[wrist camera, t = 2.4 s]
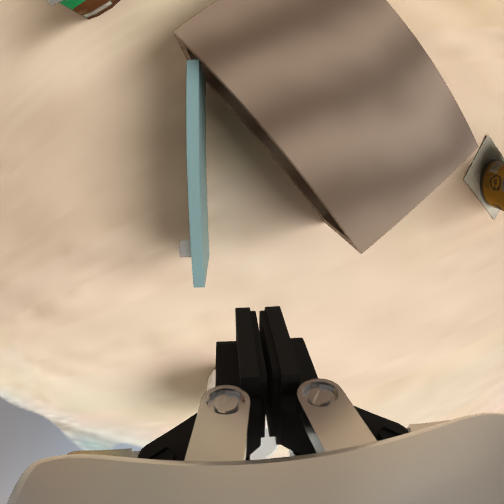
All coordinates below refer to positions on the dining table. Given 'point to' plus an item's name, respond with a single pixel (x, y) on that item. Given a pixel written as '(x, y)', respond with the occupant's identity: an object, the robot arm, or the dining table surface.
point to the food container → (87, 6)
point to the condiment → (488, 177)
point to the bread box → (335, 103)
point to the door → (196, 173)
